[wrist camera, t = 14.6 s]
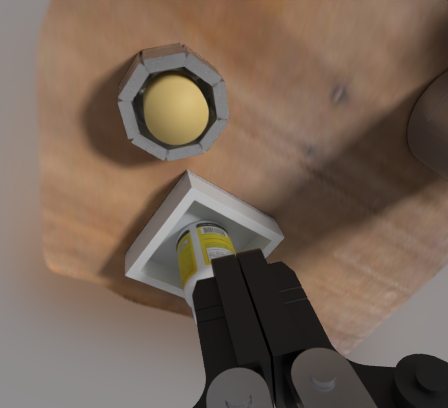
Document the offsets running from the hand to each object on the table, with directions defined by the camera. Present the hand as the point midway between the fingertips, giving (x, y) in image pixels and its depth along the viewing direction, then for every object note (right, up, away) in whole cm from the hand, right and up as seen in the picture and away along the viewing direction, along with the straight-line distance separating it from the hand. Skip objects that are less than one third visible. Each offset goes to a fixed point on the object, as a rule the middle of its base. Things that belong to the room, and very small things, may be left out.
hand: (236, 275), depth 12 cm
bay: (-2, -1, +23) cm, 23 cm away
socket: (-4, +10, +16) cm, 19 cm away
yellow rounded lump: (-4, +9, +15) cm, 18 cm away
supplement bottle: (-2, -1, +23) cm, 23 cm away
